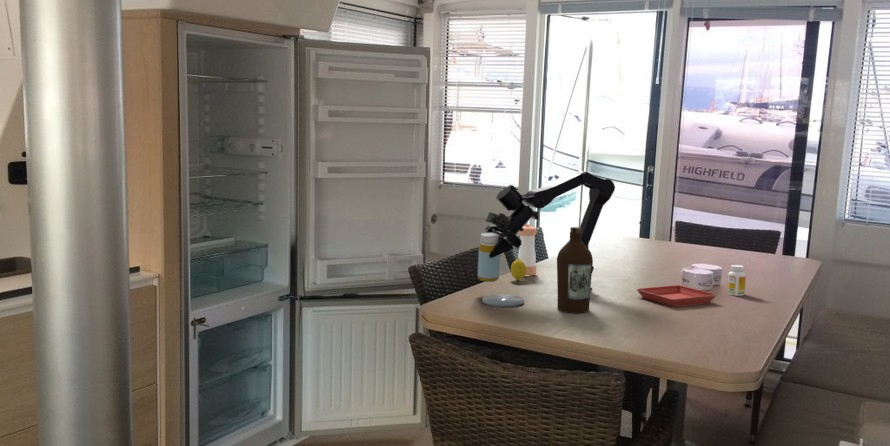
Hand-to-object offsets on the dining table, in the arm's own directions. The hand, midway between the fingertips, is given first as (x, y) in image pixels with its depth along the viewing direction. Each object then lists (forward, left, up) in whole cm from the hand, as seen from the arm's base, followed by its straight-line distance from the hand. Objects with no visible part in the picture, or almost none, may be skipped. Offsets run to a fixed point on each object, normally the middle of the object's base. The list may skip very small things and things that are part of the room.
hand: (485, 255), depth 246 cm
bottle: (0, -2, -8) cm, 8 cm away
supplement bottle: (-55, -65, -13) cm, 86 cm away
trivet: (-11, +3, -13) cm, 18 cm away
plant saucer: (-46, -41, -14) cm, 63 cm away
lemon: (+9, -28, -13) cm, 32 cm away
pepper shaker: (+15, -40, -13) cm, 44 cm away
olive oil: (-32, -5, -13) cm, 35 cm away
